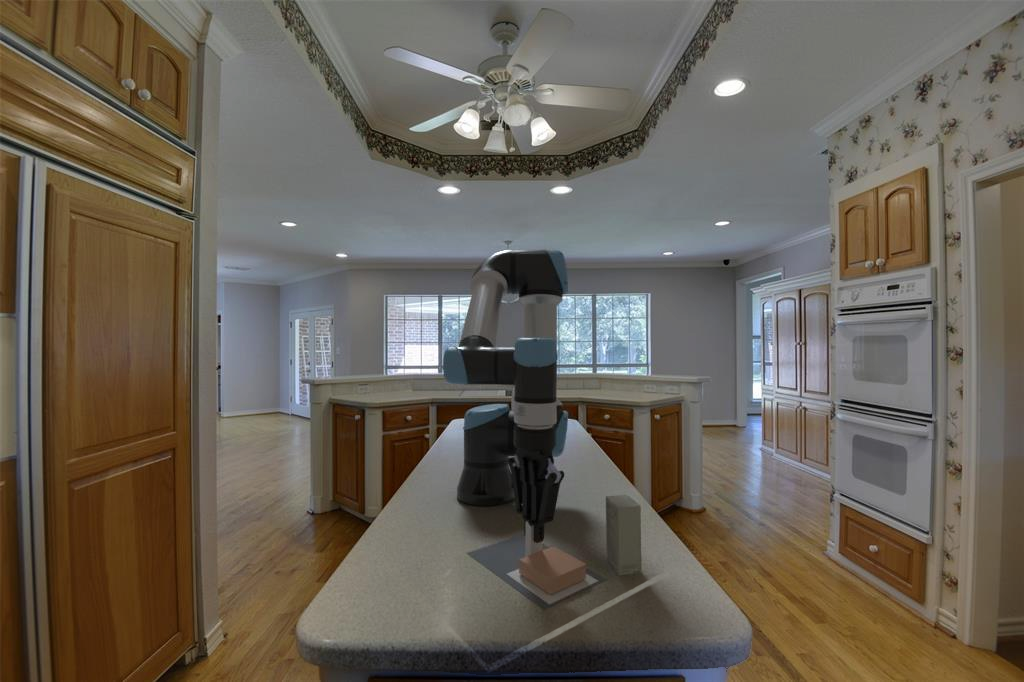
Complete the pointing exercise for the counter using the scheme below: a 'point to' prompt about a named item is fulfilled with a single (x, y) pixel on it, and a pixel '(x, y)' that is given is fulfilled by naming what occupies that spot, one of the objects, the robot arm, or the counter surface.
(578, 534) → the counter surface
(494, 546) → the mat
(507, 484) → the robot arm
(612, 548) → the skincare box
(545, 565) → the tile
